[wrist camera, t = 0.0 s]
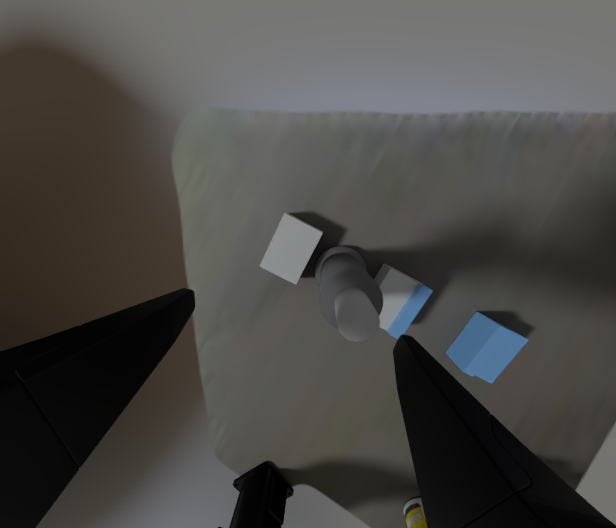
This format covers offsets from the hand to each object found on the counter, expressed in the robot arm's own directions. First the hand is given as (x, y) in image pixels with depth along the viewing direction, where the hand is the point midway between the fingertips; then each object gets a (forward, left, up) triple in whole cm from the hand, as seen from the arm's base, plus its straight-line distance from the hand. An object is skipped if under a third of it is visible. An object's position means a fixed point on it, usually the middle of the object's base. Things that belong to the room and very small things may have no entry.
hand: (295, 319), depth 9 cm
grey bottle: (+2, -3, -15) cm, 16 cm away
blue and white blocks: (+4, -9, -15) cm, 18 cm away
